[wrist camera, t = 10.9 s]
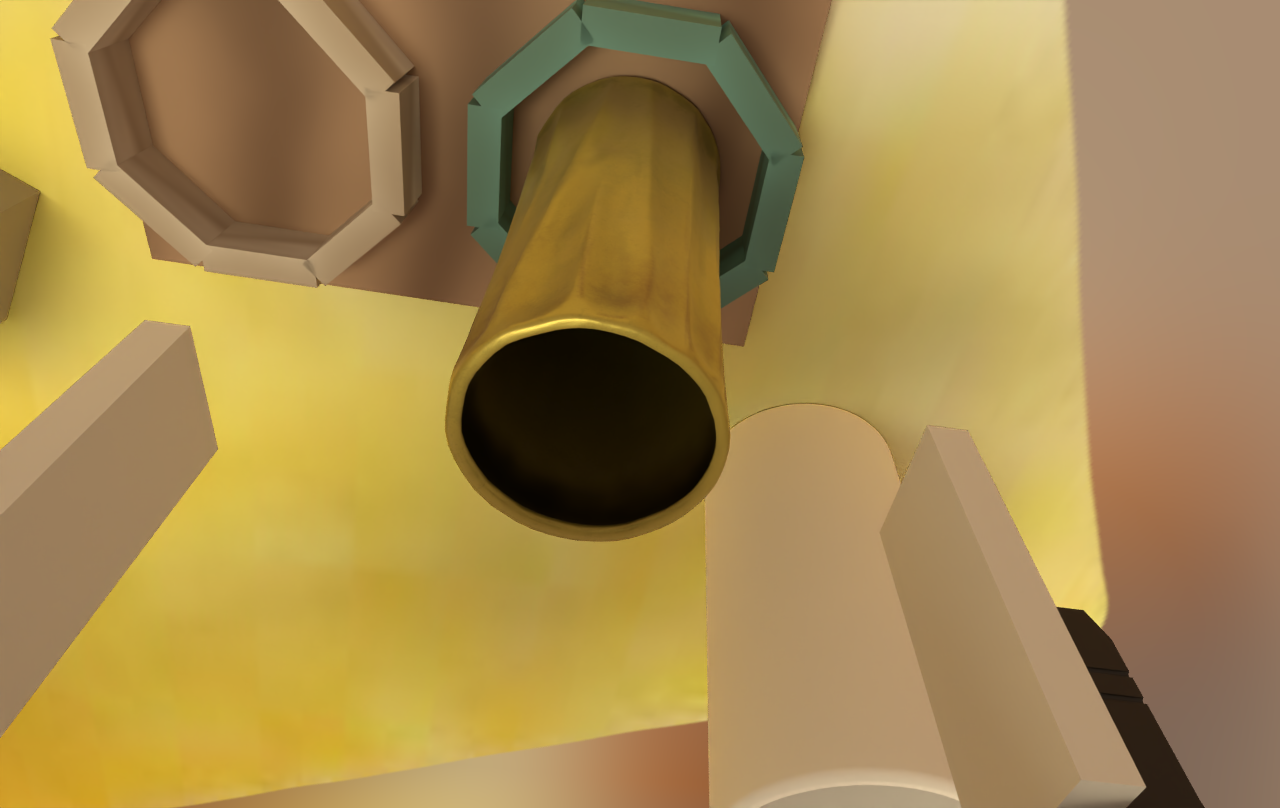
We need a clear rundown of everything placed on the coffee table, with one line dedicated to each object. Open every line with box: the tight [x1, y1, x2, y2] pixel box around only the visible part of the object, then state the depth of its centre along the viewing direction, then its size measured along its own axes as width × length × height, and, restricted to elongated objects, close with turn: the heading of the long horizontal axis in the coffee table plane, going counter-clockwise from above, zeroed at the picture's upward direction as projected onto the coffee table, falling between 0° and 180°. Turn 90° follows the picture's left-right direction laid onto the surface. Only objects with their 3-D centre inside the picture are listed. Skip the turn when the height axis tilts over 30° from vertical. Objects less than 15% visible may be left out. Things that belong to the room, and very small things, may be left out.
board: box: [51, 0, 832, 346], centre depth 25 cm, size 22×12×3 cm, turn 82°
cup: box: [705, 404, 961, 808], centre depth 28 cm, size 8×8×16 cm
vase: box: [445, 76, 731, 541], centre depth 20 cm, size 6×6×14 cm
